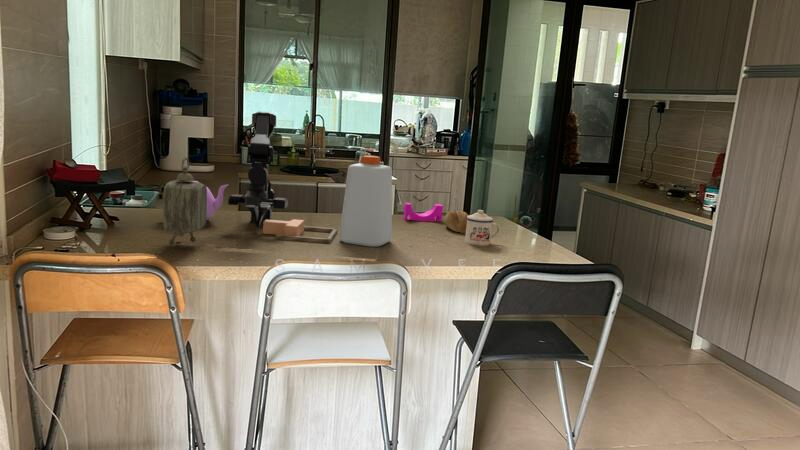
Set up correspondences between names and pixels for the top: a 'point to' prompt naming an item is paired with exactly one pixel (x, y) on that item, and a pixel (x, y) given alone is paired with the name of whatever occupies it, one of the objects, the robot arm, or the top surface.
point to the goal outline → (310, 239)
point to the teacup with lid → (479, 229)
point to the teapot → (213, 201)
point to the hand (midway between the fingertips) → (257, 227)
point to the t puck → (283, 227)
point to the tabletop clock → (184, 205)
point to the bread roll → (456, 221)
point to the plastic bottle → (367, 204)
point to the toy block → (428, 216)
